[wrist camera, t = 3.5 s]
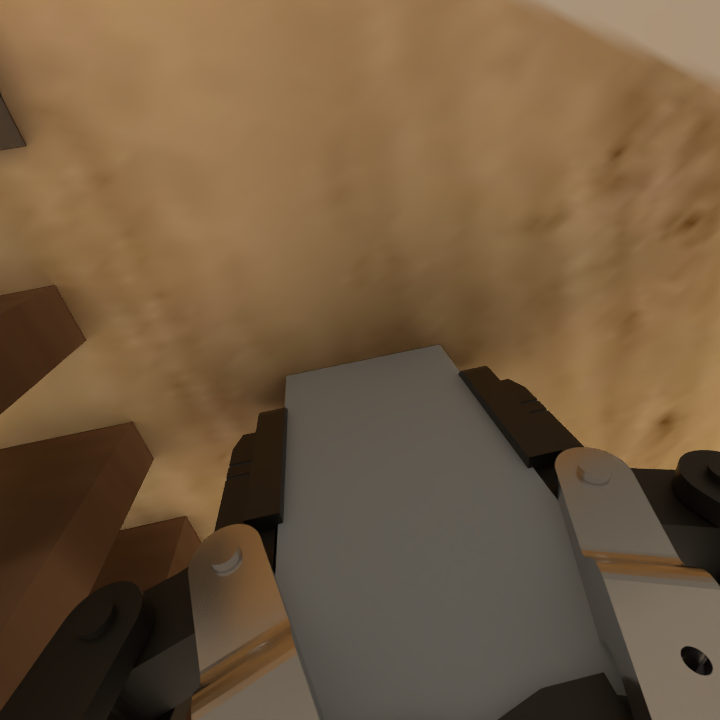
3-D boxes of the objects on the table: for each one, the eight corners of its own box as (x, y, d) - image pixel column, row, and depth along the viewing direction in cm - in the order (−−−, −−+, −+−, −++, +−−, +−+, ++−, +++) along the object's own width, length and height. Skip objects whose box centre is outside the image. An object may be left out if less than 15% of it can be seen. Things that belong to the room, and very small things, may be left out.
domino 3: (185, 516, 14) (44, 968, 6) (201, 542, 15) (92, 975, 7) (49, 546, 14) (-278, 1057, 6) (71, 572, 15) (-191, 1054, 7)
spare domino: (439, 344, 12) (696, 682, 4) (441, 385, 13) (662, 735, 5) (286, 375, 12) (263, 798, 4) (298, 415, 13) (297, 835, 5)
